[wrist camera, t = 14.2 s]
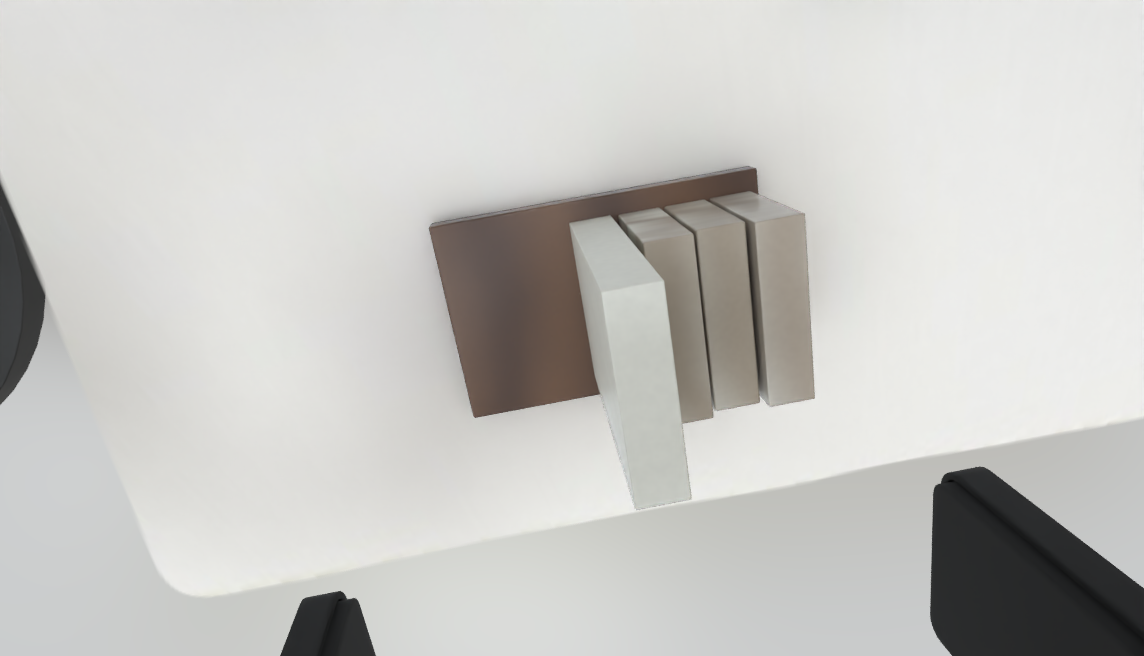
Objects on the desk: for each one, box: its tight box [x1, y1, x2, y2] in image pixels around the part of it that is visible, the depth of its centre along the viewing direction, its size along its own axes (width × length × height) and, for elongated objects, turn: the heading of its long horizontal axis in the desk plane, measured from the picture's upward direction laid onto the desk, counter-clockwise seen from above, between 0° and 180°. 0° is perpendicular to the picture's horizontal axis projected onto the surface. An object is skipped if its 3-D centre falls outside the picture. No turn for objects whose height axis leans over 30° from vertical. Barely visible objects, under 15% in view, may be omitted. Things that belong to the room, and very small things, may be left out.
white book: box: [569, 215, 691, 510], centre depth 28 cm, size 2×8×12 cm, turn 10°
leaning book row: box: [429, 166, 815, 424], centre depth 32 cm, size 16×10×8 cm, turn 99°
